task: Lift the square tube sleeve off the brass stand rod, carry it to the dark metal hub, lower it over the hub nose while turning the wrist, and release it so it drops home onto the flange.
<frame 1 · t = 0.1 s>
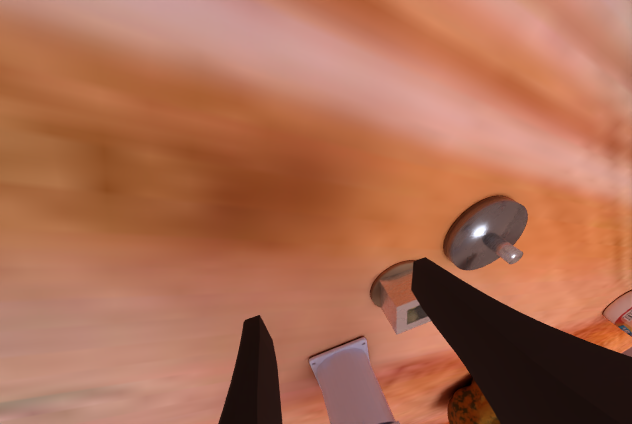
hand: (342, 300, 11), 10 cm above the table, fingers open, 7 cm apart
decorative pumpkin: (473, 381, 60), on the table
square tube sleeve: (400, 287, 29), resting on stand
stand: (398, 283, 29), on the table
hub: (479, 231, 28), on the table
fruit juice: (619, 301, 58), on the table
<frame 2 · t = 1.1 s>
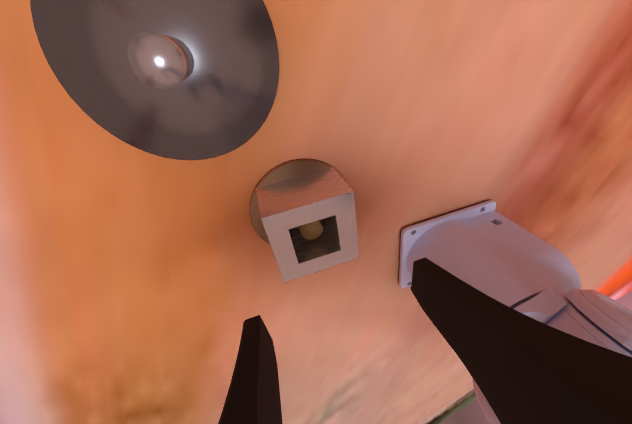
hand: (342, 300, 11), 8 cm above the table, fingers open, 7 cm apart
square tube sleeve: (302, 210, 18), resting on stand
stand: (301, 206, 18), on the table
hub: (179, 58, 12), on the table
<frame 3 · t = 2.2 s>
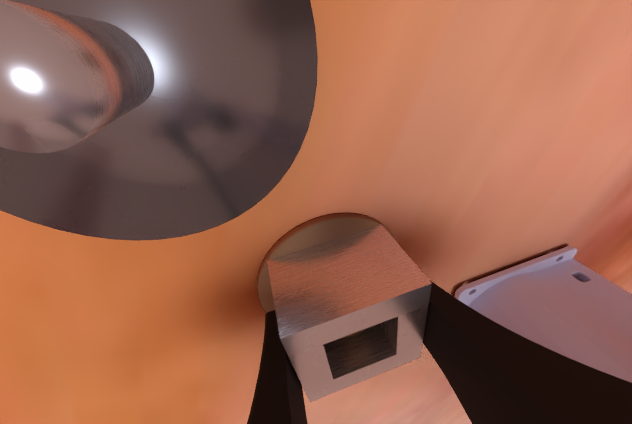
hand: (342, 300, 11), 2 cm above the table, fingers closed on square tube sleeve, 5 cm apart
square tube sleeve: (333, 280, 12), resting on stand, touching gripper
stand: (330, 273, 13), on the table
hub: (132, 64, 6), on the table
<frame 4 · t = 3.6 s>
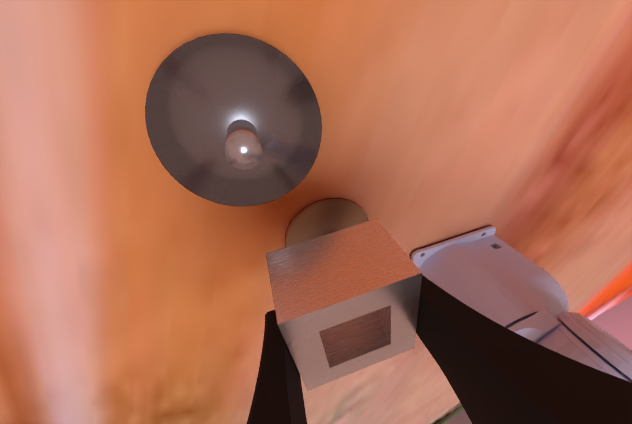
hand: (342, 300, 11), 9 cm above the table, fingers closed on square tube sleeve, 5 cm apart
square tube sleeve: (330, 274, 13), point 7 cm above the table, touching gripper
stand: (327, 235, 21), on the table
hub: (241, 127, 15), on the table
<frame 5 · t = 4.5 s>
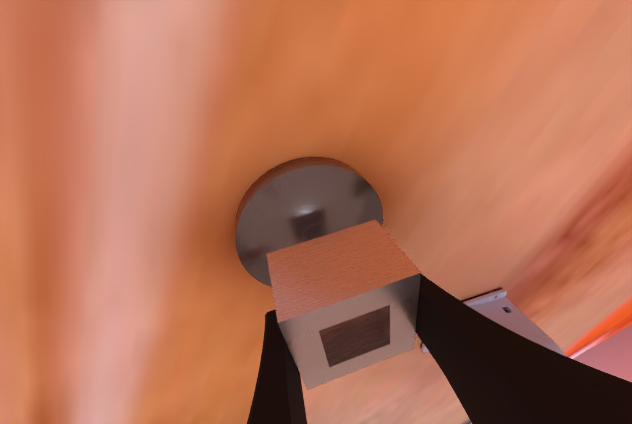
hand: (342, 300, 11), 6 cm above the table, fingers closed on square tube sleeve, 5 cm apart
square tube sleeve: (330, 274, 13), point 4 cm above the table, touching gripper
hub: (308, 223, 16), on the table
when the fingers open (5 cm above the table, at t = 5.3 s): square tube sleeve drops 1 cm, resting on hub.
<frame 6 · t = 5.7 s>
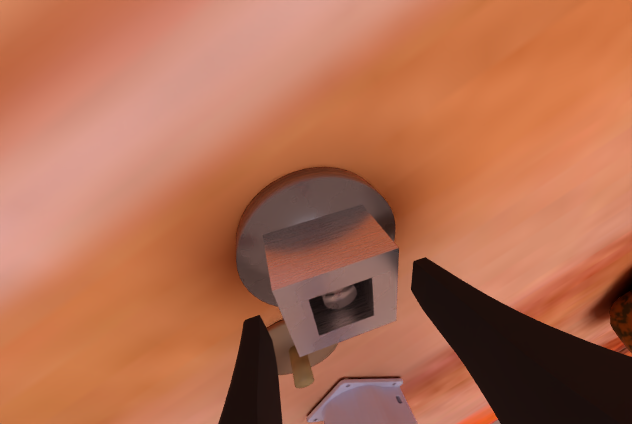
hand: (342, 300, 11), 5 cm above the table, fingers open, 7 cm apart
square tube sleeve: (321, 255, 14), point 1 cm above the table, touching hub
stand: (295, 343, 21), on the table
hub: (314, 237, 15), on the table
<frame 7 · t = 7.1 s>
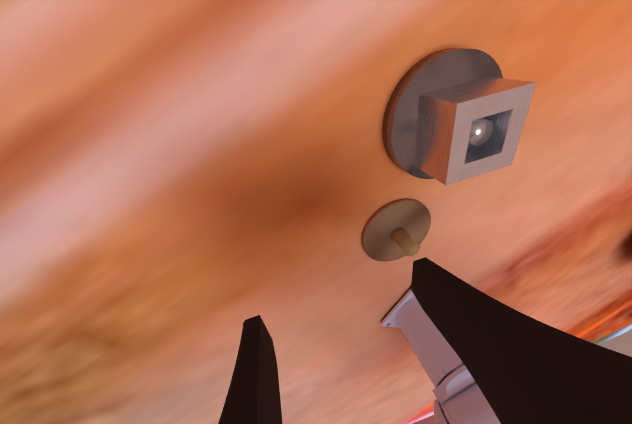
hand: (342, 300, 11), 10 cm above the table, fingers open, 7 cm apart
square tube sleeve: (448, 124, 18), point 1 cm above the table, touching hub
stand: (395, 230, 25), on the table
hub: (435, 117, 20), on the table
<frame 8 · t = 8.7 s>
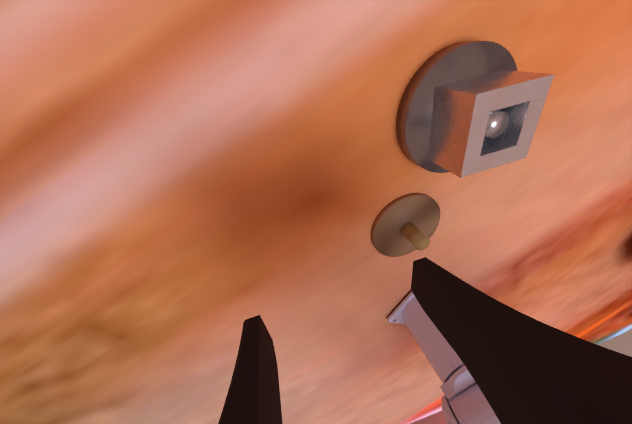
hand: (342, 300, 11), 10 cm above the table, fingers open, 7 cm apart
square tube sleeve: (462, 117, 18), point 1 cm above the table, touching hub
stand: (404, 225, 25), on the table
hub: (448, 111, 20), on the table
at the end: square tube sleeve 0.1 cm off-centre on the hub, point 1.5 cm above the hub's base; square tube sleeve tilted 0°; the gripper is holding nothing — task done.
